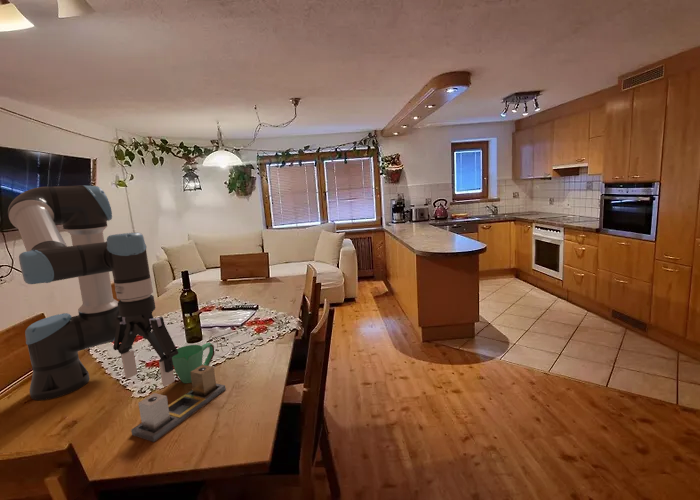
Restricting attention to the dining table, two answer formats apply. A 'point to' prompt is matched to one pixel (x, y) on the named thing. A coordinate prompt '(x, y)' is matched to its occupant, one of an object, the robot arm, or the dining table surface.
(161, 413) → the white rectangular block
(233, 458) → the dining table surface
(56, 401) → the dining table surface
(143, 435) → the grey slotted tray
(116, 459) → the dining table surface
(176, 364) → the mug
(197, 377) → the brown rectangular block
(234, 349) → the eyeglasses
